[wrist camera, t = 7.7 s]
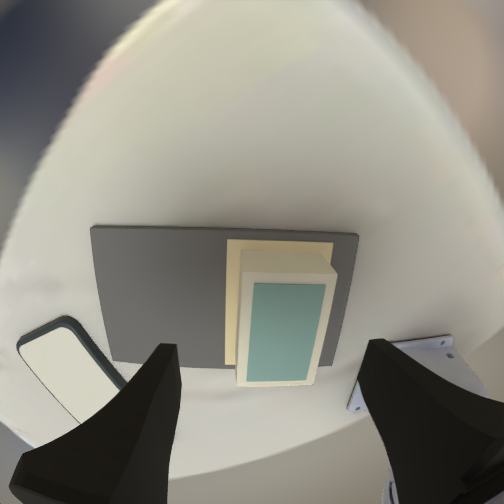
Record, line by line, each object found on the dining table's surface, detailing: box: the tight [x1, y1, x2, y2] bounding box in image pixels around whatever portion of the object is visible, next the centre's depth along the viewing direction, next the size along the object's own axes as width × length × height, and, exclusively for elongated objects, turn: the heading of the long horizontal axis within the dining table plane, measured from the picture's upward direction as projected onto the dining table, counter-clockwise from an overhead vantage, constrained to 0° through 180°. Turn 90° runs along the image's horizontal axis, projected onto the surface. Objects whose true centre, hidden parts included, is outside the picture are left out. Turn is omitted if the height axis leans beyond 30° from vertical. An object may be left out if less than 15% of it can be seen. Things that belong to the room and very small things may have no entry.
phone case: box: [16, 316, 174, 441], centre depth 23 cm, size 9×2×16 cm
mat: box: [90, 226, 359, 369], centre depth 20 cm, size 17×10×1 cm, turn 87°
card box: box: [235, 250, 338, 387], centre depth 18 cm, size 8×5×3 cm, turn 176°
